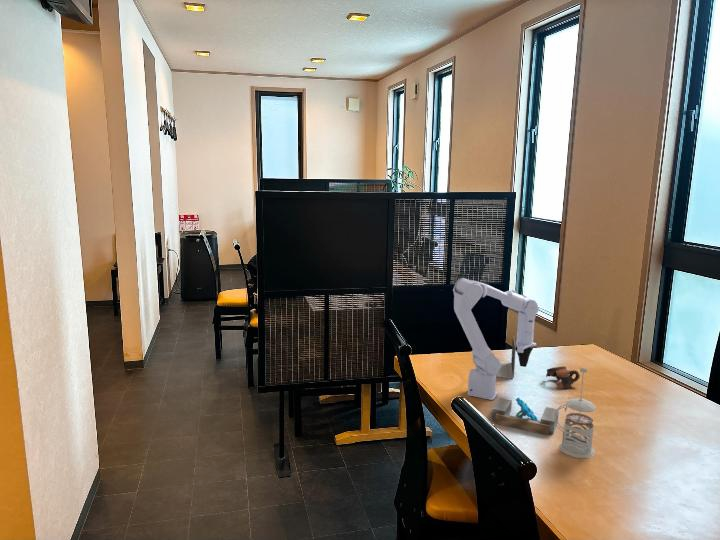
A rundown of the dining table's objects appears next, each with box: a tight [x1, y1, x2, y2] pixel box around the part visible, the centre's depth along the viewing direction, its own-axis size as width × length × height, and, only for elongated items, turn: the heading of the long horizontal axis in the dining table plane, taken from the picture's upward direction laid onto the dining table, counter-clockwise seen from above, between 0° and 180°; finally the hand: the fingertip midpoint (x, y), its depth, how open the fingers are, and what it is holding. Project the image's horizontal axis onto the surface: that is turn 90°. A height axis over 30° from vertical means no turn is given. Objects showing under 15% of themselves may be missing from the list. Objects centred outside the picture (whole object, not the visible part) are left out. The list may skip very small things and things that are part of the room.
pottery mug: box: [545, 366, 581, 389], centre depth 200 cm, size 12×10×8 cm
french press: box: [554, 366, 597, 459], centre depth 150 cm, size 10×12×25 cm
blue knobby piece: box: [515, 397, 540, 422], centre depth 169 cm, size 11×6×10 cm
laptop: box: [496, 334, 517, 380], centre depth 215 cm, size 18×12×13 cm
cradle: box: [491, 397, 560, 436], centre depth 169 cm, size 19×12×4 cm, turn 62°
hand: (523, 366), depth 193 cm, fingers closed
